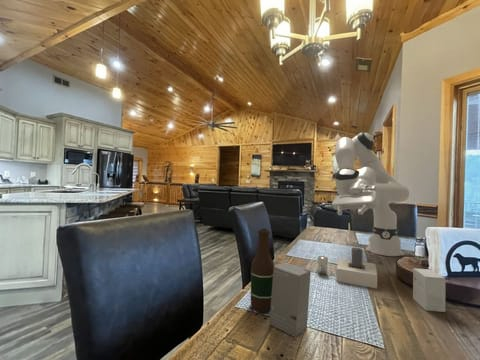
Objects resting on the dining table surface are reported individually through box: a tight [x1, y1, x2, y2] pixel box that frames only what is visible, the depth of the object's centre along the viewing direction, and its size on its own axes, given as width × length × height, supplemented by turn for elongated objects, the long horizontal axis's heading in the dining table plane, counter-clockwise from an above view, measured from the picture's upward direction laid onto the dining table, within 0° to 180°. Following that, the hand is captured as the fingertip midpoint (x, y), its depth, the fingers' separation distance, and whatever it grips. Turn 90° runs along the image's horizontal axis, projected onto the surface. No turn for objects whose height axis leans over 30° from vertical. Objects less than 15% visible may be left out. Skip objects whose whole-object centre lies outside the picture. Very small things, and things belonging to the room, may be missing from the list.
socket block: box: [336, 258, 378, 289], centre depth 101 cm, size 14×14×5 cm
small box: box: [412, 268, 446, 313], centre depth 79 cm, size 8×6×10 cm
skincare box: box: [269, 262, 312, 338], centre depth 67 cm, size 8×7×16 cm
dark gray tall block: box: [351, 247, 364, 269], centre depth 101 cm, size 4×4×12 cm
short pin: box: [317, 255, 329, 276], centre depth 105 cm, size 4×4×7 cm
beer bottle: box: [250, 228, 275, 314], centre depth 76 cm, size 8×8×24 cm
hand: (349, 213), depth 107 cm, fingers open, 8 cm apart
